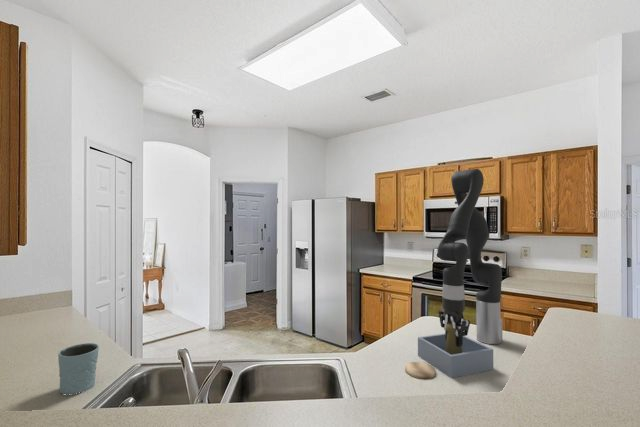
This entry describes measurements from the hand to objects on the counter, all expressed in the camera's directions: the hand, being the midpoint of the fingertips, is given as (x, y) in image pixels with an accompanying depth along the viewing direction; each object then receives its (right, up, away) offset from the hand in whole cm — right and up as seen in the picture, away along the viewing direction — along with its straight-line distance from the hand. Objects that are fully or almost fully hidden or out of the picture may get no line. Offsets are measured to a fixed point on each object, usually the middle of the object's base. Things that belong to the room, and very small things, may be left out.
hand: (453, 343), depth 116 cm
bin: (0, -7, 0) cm, 7 cm away
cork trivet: (-15, -7, -7) cm, 18 cm away
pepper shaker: (0, -4, 0) cm, 4 cm away
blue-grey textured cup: (-124, -7, -18) cm, 125 cm away
